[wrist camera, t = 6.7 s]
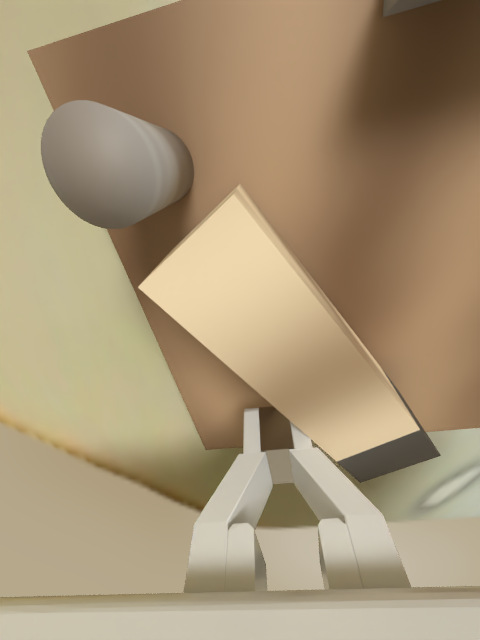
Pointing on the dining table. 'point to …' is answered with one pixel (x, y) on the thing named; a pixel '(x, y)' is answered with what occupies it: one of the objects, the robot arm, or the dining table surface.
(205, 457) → the dining table surface
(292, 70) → the board
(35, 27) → the dining table surface
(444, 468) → the dining table surface
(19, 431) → the dining table surface
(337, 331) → the leg bar
